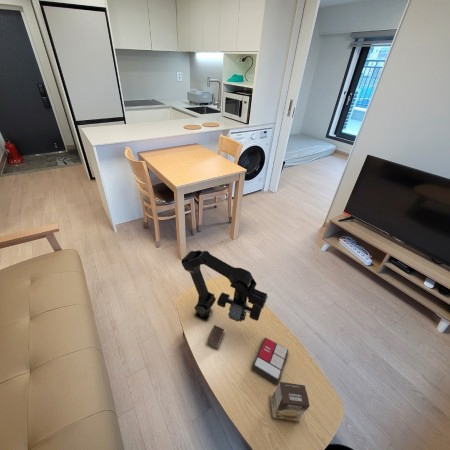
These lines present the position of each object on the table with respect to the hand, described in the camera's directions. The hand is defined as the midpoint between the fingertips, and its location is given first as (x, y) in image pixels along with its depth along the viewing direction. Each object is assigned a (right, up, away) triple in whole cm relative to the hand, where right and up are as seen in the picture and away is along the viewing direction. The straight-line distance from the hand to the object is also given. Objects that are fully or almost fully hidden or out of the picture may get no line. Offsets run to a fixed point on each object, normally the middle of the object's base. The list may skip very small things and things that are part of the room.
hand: (237, 316), depth 107 cm
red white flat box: (+14, -18, -4) cm, 23 cm away
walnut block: (-10, -12, +4) cm, 16 cm away
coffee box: (+15, -28, -18) cm, 37 cm away
